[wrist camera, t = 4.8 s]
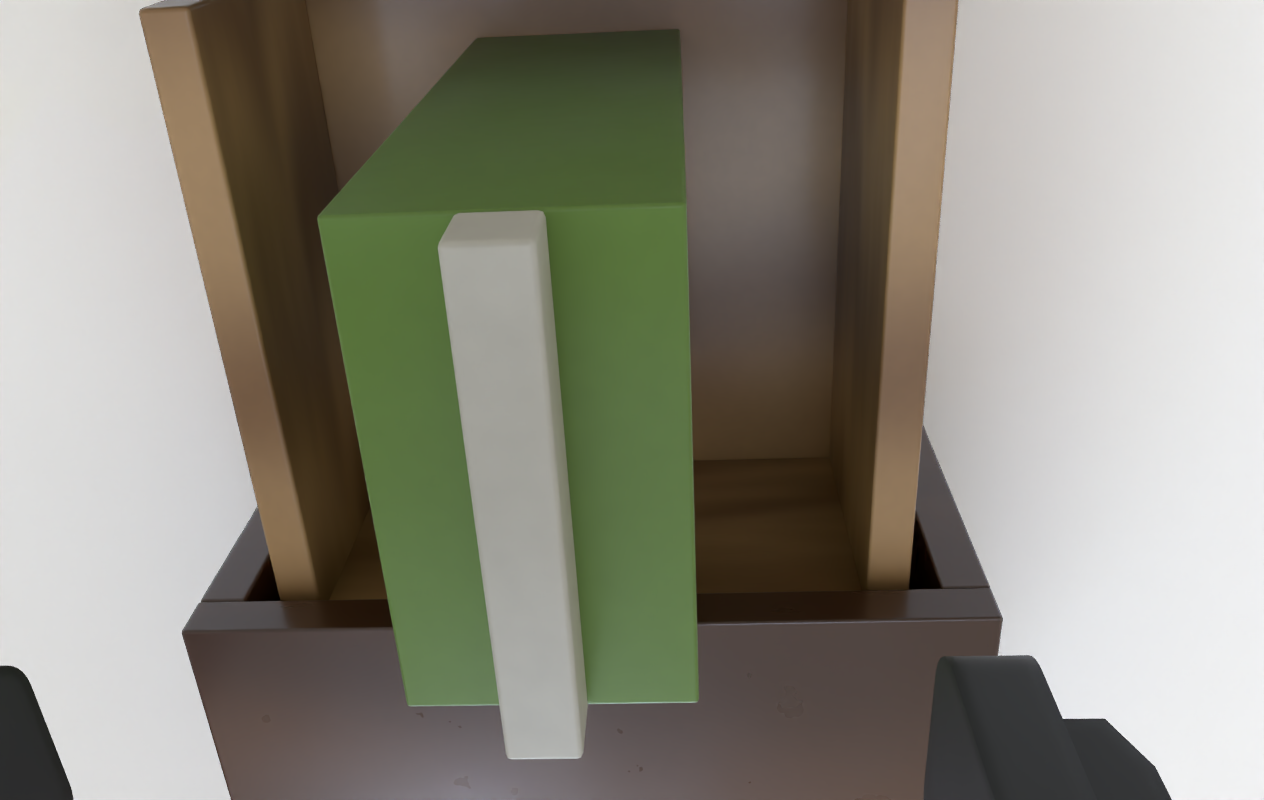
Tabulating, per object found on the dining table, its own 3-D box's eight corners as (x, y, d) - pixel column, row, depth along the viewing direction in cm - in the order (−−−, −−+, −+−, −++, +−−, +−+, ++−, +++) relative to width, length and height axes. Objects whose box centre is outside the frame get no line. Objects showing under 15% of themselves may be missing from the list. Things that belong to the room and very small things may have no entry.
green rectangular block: (688, 355, 25) (700, 759, 14) (510, 360, 25) (389, 763, 14) (680, 28, 22) (688, 233, 11) (475, 37, 22) (285, 247, 11)
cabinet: (316, 405, 28) (179, 632, 20) (909, 389, 27) (1003, 618, 20) (405, 844, 35) (329, 1134, 28) (874, 840, 35) (933, 1138, 27)
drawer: (137, -548, 19) (-124, -727, 12) (961, -606, 18) (1111, -826, 12) (339, 472, 28) (246, 656, 22) (887, 458, 27) (950, 645, 21)
